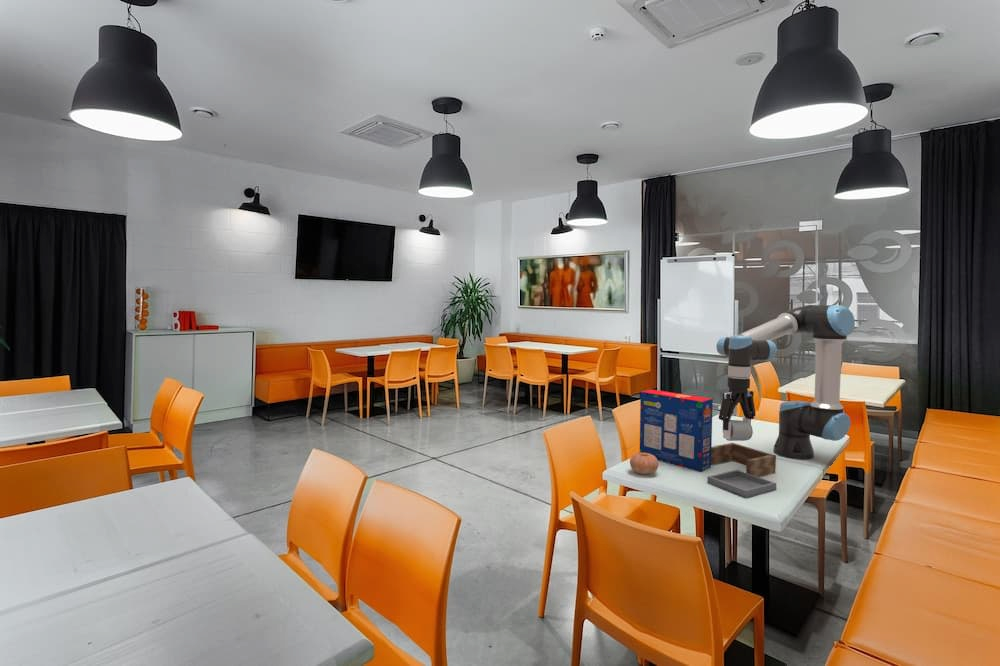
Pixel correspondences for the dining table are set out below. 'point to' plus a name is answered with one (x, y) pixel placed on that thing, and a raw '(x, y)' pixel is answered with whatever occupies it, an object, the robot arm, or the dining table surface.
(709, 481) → the tray
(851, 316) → the robot arm
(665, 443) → the pasta box
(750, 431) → the ceramic mug
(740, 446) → the bay
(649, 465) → the orange ribbed round gourd
